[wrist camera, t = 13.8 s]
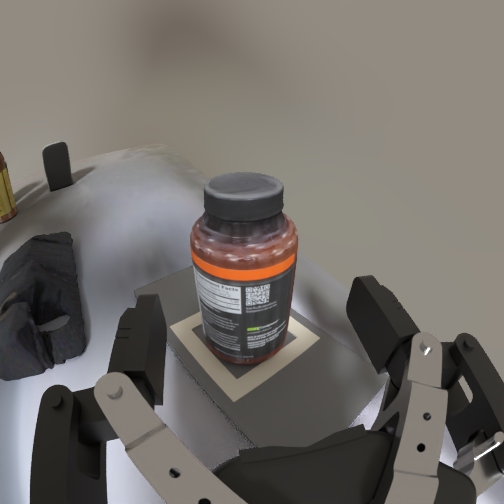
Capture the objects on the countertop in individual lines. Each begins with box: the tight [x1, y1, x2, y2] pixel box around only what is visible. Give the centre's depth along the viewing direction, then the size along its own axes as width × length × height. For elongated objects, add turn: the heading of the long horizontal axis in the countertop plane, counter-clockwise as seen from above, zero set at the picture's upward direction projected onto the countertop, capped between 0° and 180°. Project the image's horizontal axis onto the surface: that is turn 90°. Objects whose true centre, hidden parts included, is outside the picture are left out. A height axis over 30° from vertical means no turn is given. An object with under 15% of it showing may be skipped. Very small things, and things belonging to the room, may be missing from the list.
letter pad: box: [134, 266, 389, 448], centre depth 20 cm, size 20×10×1 cm, turn 40°
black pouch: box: [0, 232, 86, 381], centre depth 21 cm, size 15×22×5 cm
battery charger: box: [42, 141, 73, 191], centre depth 51 cm, size 7×4×11 cm, turn 126°
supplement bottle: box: [190, 172, 298, 365], centre depth 17 cm, size 6×6×11 cm
